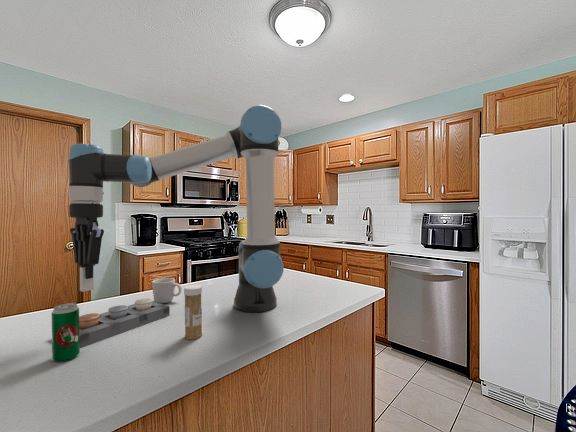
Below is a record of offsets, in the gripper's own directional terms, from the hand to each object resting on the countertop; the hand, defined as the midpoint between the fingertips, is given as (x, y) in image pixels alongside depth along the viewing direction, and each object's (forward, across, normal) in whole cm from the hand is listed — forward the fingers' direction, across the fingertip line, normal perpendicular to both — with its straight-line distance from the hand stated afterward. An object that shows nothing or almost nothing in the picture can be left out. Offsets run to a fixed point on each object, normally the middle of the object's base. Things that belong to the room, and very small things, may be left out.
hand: (86, 290), depth 79 cm
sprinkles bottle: (+12, -25, -14) cm, 32 cm away
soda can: (+13, -9, +8) cm, 18 cm away
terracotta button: (+10, 0, 0) cm, 10 cm away
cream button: (+10, 0, -16) cm, 19 cm away
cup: (+12, +7, -30) cm, 33 cm away
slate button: (+10, 0, -8) cm, 13 cm away
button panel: (+12, 0, -8) cm, 15 cm away
